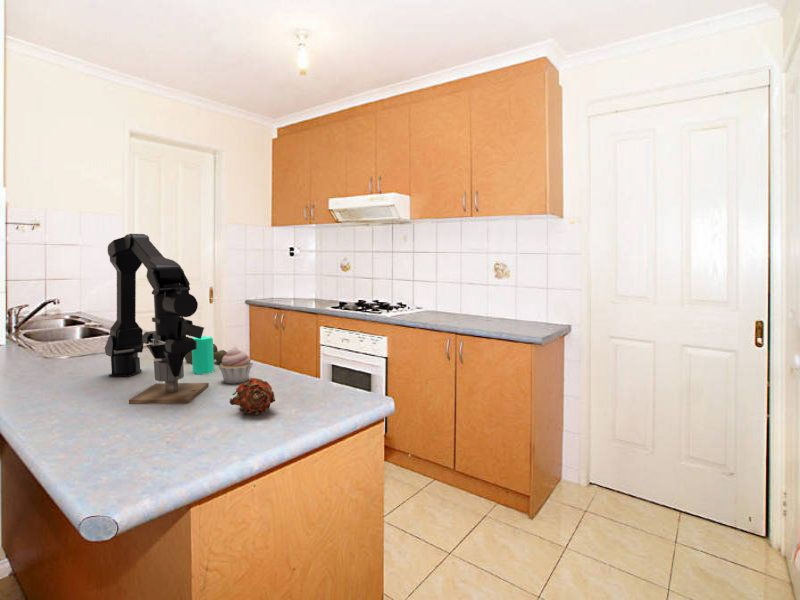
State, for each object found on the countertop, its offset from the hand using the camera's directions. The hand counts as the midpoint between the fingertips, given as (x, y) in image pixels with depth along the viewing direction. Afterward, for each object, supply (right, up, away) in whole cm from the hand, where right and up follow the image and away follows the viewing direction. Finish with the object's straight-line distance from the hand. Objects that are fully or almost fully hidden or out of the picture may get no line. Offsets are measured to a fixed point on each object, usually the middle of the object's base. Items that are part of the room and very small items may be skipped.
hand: (170, 373), depth 118 cm
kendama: (-5, -2, +36) cm, 36 cm away
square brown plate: (0, -5, 0) cm, 5 cm away
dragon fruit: (+25, -7, -12) cm, 28 cm away
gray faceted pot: (0, -1, 0) cm, 1 cm away
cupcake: (+12, -4, +13) cm, 19 cm away
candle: (-1, -3, +23) cm, 24 cm away
